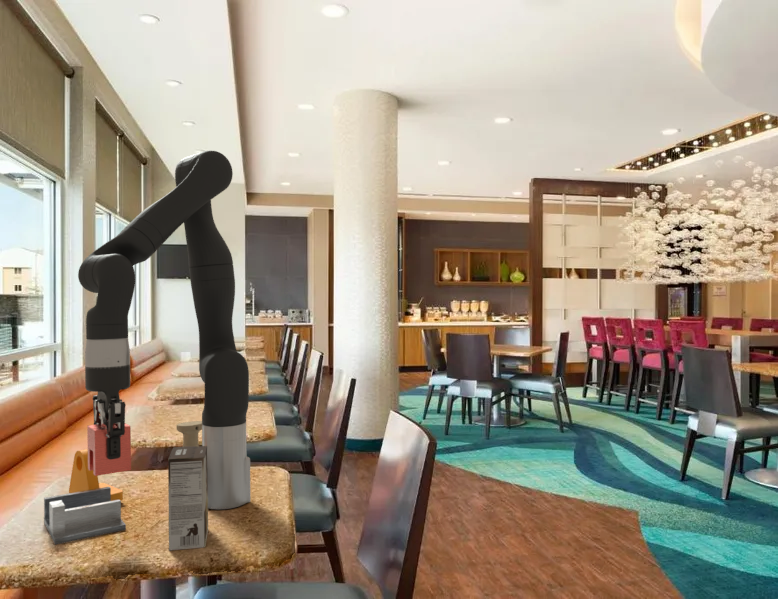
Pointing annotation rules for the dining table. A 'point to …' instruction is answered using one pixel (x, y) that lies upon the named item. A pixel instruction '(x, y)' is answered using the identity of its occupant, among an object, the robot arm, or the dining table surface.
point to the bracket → (88, 477)
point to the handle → (190, 432)
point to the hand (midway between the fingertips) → (109, 454)
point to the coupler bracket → (82, 515)
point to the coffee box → (188, 497)
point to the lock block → (99, 451)
